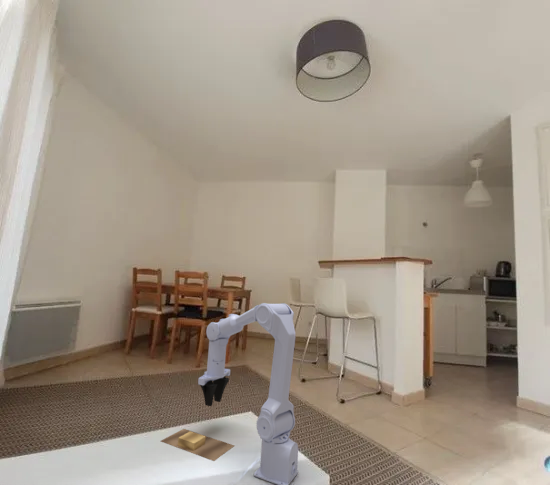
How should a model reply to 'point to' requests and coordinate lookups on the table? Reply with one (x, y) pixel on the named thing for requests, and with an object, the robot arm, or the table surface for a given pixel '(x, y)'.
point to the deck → (208, 450)
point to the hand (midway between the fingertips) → (213, 403)
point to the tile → (191, 440)
